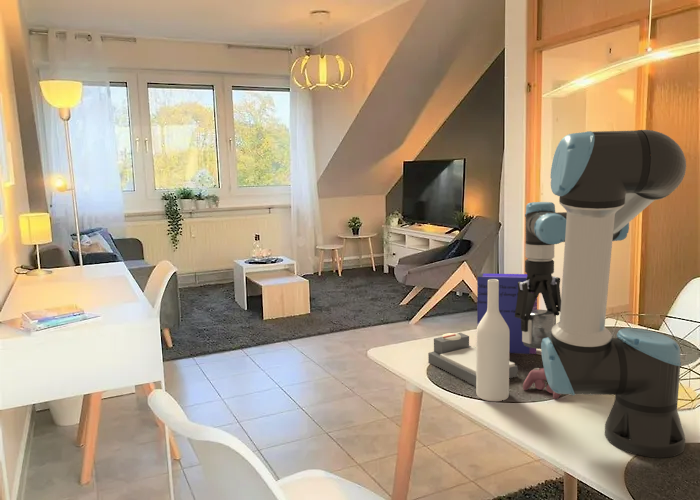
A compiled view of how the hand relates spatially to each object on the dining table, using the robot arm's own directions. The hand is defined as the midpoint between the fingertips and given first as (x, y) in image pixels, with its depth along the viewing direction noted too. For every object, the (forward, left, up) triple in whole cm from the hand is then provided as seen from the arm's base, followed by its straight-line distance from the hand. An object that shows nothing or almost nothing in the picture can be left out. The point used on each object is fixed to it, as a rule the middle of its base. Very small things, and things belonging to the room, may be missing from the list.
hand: (538, 339), depth 160 cm
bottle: (-19, +11, -9) cm, 24 cm away
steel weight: (0, 0, -1) cm, 1 cm away
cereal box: (+16, +9, -9) cm, 20 cm away
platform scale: (-2, +18, -9) cm, 20 cm away
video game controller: (-14, -1, -9) cm, 17 cm away
